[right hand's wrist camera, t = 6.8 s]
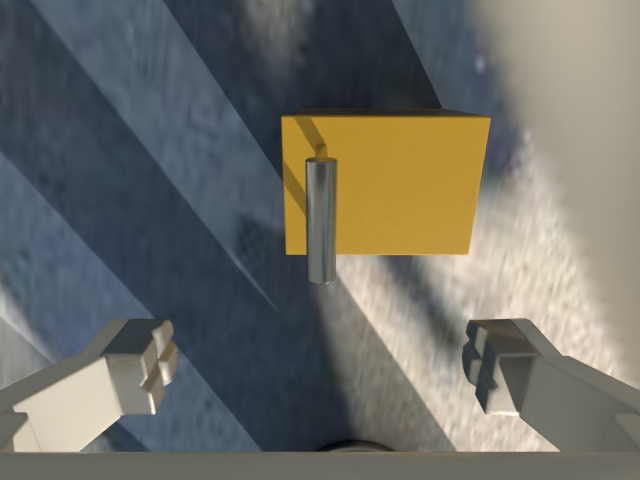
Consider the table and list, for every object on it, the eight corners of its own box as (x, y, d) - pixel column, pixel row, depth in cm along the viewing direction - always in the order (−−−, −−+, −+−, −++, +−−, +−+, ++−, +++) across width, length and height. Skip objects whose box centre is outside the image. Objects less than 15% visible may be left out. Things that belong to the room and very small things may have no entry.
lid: (287, 248, 28) (274, 309, 21) (282, 115, 25) (264, 127, 17) (463, 249, 28) (516, 310, 21) (484, 115, 25) (559, 128, 17)
